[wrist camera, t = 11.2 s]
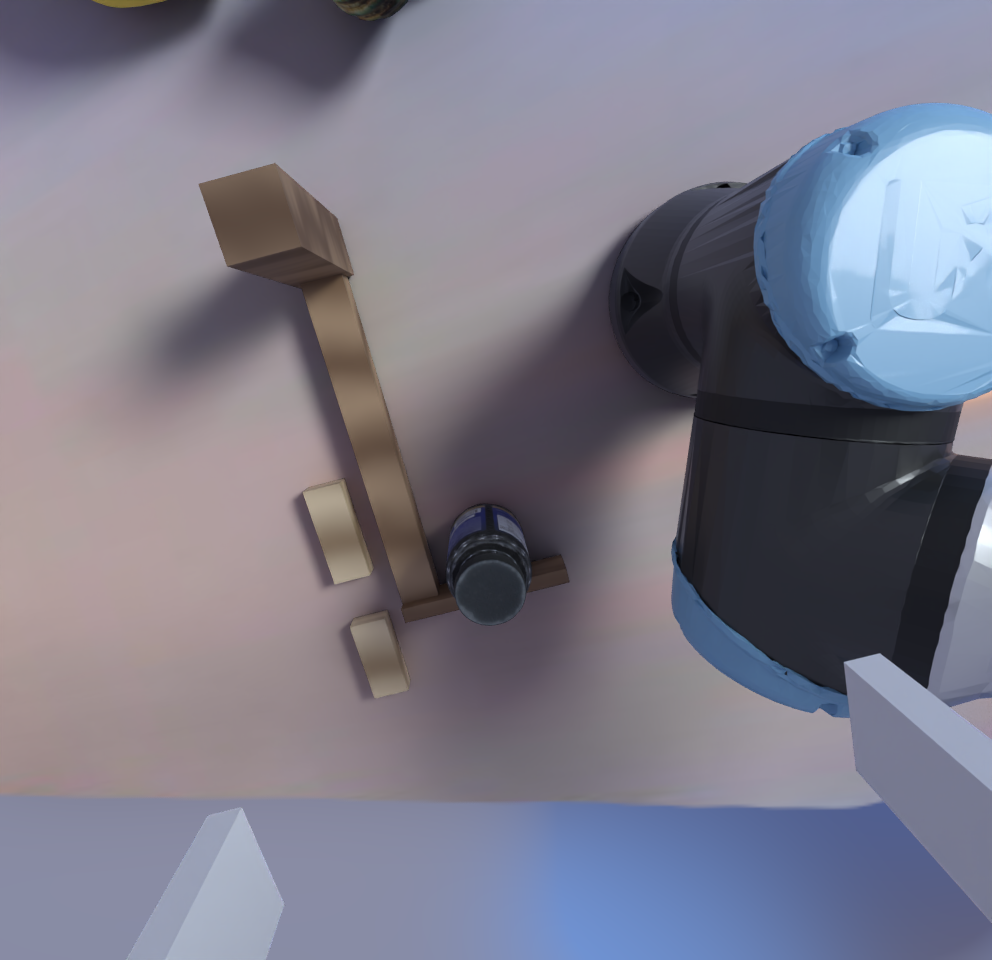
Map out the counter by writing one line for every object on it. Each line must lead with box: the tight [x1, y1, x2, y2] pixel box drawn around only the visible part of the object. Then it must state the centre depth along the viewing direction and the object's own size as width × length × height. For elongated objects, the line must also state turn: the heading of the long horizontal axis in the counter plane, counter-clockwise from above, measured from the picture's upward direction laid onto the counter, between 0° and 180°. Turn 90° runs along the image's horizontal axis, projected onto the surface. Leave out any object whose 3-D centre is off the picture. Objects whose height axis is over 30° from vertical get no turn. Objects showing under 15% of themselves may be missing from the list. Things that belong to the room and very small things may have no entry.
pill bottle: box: [446, 504, 532, 626], centre depth 42 cm, size 6×6×11 cm
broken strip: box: [303, 479, 410, 699], centre depth 47 cm, size 19×3×2 cm, turn 14°
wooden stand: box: [199, 163, 569, 623], centre depth 38 cm, size 31×14×13 cm, turn 14°
